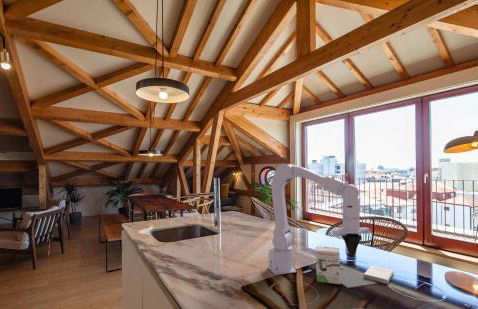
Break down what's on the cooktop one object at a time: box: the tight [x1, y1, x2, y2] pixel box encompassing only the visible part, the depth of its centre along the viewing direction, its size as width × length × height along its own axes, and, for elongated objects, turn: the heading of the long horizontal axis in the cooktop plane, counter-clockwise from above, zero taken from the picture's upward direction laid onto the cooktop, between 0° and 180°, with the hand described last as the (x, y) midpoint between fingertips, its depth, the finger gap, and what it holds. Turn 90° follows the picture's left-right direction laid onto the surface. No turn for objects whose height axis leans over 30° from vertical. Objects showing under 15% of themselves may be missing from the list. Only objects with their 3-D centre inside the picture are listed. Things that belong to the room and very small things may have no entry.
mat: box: [340, 268, 378, 289], centre depth 101 cm, size 12×14×1 cm
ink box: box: [315, 245, 342, 285], centre depth 98 cm, size 9×5×12 cm, turn 71°
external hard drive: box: [362, 265, 394, 284], centre depth 102 cm, size 2×8×12 cm
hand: (351, 254), depth 96 cm, fingers closed
